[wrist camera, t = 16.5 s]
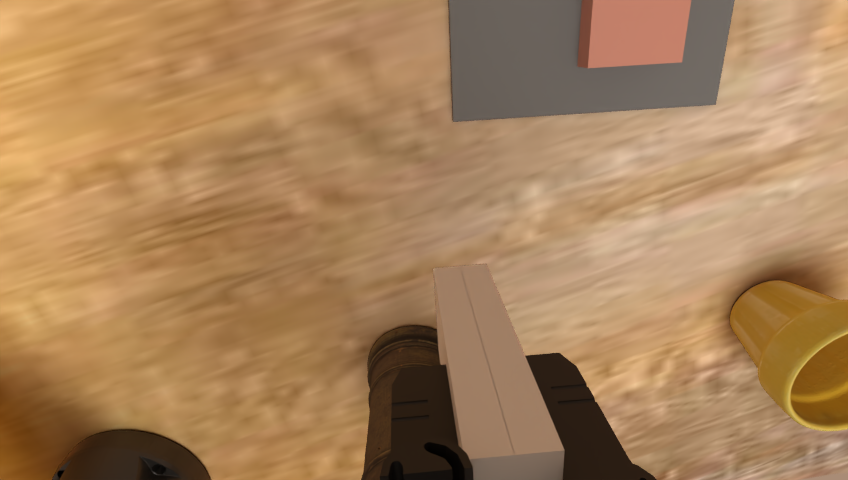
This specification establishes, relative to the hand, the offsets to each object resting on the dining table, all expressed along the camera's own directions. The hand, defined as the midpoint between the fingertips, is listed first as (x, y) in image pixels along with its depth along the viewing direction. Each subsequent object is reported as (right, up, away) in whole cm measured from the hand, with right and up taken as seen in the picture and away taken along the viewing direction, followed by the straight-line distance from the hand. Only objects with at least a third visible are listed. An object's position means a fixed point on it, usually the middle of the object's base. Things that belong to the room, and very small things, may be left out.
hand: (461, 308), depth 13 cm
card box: (+10, +19, +18) cm, 28 cm away
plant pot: (+31, -5, +31) cm, 44 cm away
